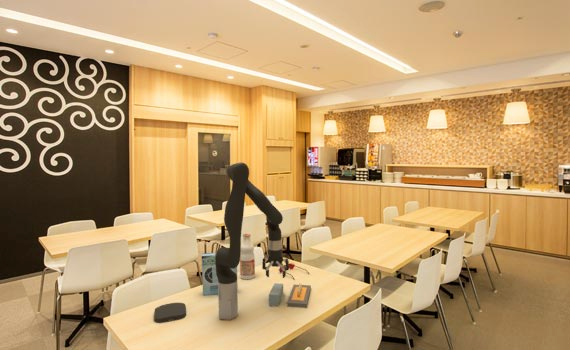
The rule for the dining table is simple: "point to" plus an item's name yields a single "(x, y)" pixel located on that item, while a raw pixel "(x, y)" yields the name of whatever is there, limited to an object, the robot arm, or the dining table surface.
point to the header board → (299, 303)
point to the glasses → (290, 268)
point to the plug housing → (276, 294)
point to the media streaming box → (170, 312)
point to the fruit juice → (247, 258)
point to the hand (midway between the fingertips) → (275, 277)
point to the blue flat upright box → (210, 274)
